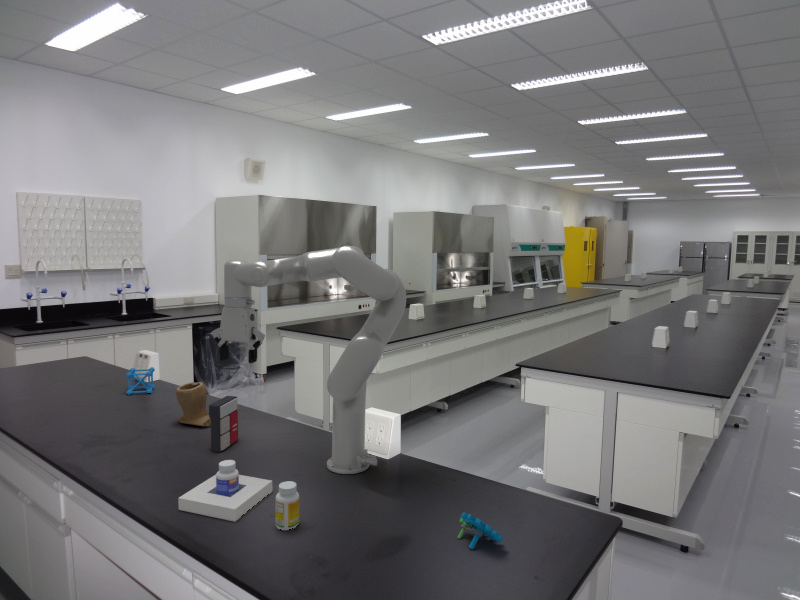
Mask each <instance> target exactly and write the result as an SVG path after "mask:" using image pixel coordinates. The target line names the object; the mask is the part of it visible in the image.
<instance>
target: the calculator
mask: <svg viewBox="0 0 800 600" xmlns="http://www.w3.org/2000/svg"><path fill="white" fill-rule="evenodd" d="M208 413H209V417H210V419H211V426H210V446H211V448H210V451H211V452H212V453H221V452H223V451H224V450H226V449H227V448H228V447H230V446H231V445H233V444H235V443H236V442H237V441H238V440H239V410H238V396H234V395H226V396H224V397H222V398H219V399H218V400H216V401H214V402H211V403H210V404H209V405H208Z"/></svg>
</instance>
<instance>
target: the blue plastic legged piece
mask: <svg viewBox="0 0 800 600" xmlns="http://www.w3.org/2000/svg"><path fill="white" fill-rule="evenodd" d="M459 522H460V523H461V525H460V527H461V530H460V532H459V534H458V535H457V539H459V540H461V539H462V536H463V535H464V532H465V531H467V532H469V533H470V534H472V535H473V534H474V536H473V538H472V540H471V542H470V544H469V546H468V548H469V549H471V551H473V550H474V549H475V547H476V544H477V543H478V540H479V539H480V538H482V536H485V537H487V538H489V539H490V540H492V541H496V542H497V543H502V542H503V540H504V537H503V536H501V534H500V532H498V531H496V530H493V527H492V526H491V525H489V524H487V523H485V522H483V521H482V519H480V518H477V517H476V518H475V516H473V515H472V514H470V513H466V512H463V513H462V514H461V515H460V519H459Z"/></svg>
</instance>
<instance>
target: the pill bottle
mask: <svg viewBox="0 0 800 600" xmlns="http://www.w3.org/2000/svg"><path fill="white" fill-rule="evenodd" d="M236 464H237V463H236V461H235V460H234V459H225V460H222V461H220V462H219V463H218V471H217V472H216V474H215V475H216V494H217V495H222V496H227V497H231V496H233V495H234V494H236V493H237V492H238V491H239V475H240V473H239V470H238V469H237V468H236V467H237V465H236Z"/></svg>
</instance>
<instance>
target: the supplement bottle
mask: <svg viewBox="0 0 800 600" xmlns="http://www.w3.org/2000/svg"><path fill="white" fill-rule="evenodd" d="M297 488H298V487H297V483H296V481H295V482H294V481H291V480H290V481H288V480H287V481H282V482H280V483H279V484H278V492H277V494H276V495H275V508H274V509H275V512H274V513H275V516H274V517H275V519H274V520H275V521H274V523H275V528H276V529H278V530H280V529H281V531H290V530H289V529H291V530H293V529H296V528H297V527H298V526H297V525H299V524H300V494H299V492H298V491H297ZM296 526H297V527H296ZM292 528H293V529H292Z"/></svg>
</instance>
